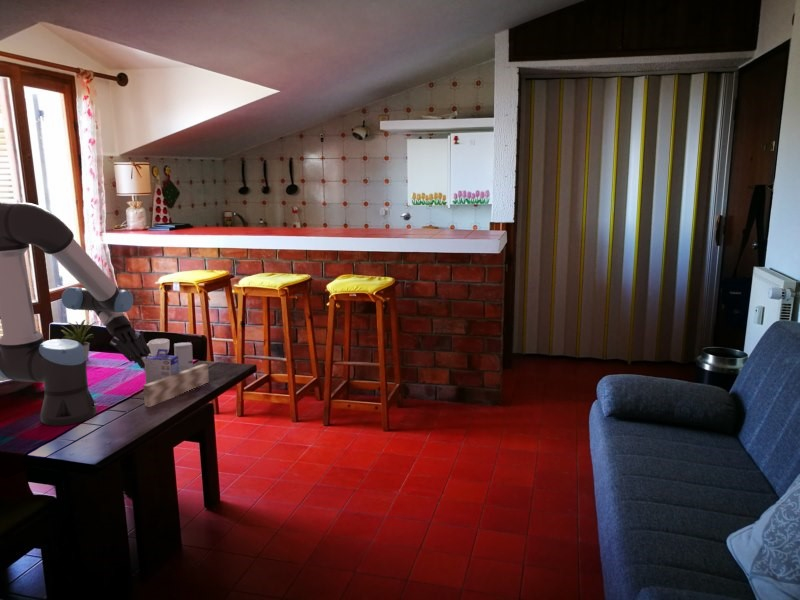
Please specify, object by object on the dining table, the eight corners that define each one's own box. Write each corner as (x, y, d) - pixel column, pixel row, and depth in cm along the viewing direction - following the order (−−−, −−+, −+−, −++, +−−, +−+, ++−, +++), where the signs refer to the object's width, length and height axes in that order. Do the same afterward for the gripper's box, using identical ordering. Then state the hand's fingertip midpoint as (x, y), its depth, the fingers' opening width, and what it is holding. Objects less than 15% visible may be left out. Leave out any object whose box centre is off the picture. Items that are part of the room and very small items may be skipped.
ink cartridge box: (181, 389, 211) (178, 348, 208) (173, 394, 206) (170, 353, 203) (154, 387, 212) (151, 347, 209) (145, 393, 207) (142, 352, 204)
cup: (170, 358, 246) (169, 342, 244) (143, 361, 242) (142, 344, 241) (170, 353, 253) (169, 337, 251) (144, 356, 249) (142, 340, 248)
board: (149, 407, 195) (147, 386, 193) (144, 405, 196) (143, 385, 194) (208, 383, 217) (207, 364, 216) (204, 382, 218) (203, 363, 217)
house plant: (98, 351, 254) (95, 313, 251) (107, 359, 244) (104, 319, 241) (60, 357, 245) (56, 318, 242) (68, 366, 235) (63, 325, 232)
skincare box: (176, 378, 222) (174, 346, 220) (175, 374, 226) (173, 343, 224) (194, 376, 225) (192, 344, 222) (192, 372, 229) (190, 341, 226)
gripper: (126, 323, 223) (161, 374, 219) (94, 331, 212) (131, 385, 208) (135, 311, 220) (171, 362, 216) (103, 318, 208) (141, 372, 204)
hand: (151, 373), depth 212 cm, fingers closed
